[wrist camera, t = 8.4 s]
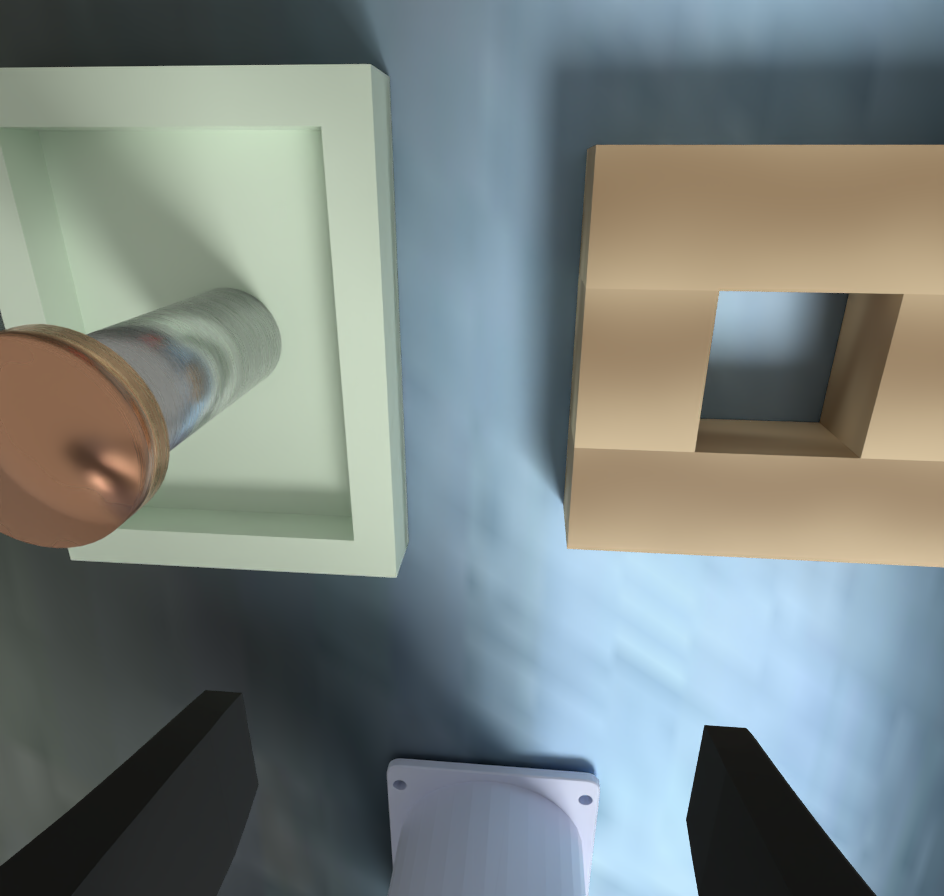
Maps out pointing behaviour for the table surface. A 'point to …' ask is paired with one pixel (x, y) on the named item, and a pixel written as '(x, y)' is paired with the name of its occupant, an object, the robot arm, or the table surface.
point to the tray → (228, 266)
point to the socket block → (689, 341)
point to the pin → (117, 408)
